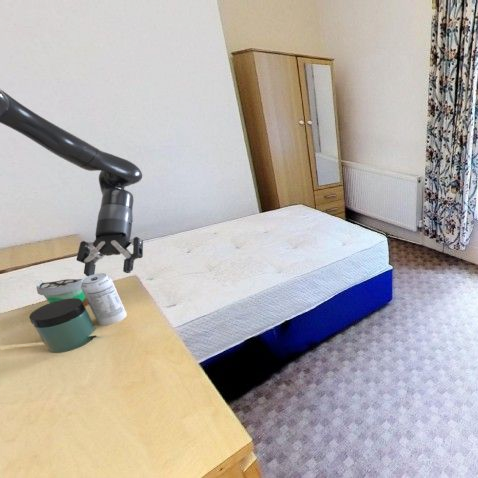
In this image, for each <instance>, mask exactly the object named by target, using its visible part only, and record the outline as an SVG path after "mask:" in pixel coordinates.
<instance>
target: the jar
mask: <svg viewBox="0 0 478 478" xmlns="http://www.w3.org/2000/svg"><path fill="white" fill-rule="evenodd" d="M33 327H34V330H36V332H37V334H38V336H39V337H40V339H41V341H42V342H43V344H44V345H45V347H46V349H47V350H48V351H49V352H50V353H54V354H59V353H60V354H61V353H65V352H70V351H73V350H75V349H77V348H81V347H83V346H84V345H87V344H88V343H90V342H91V341H93V339H95V338H96V335H92V334H93V333H94V332H95V330H96V326H95V324H94V322H93V320H92V317H91V316H90V314H89V311H88V310H87V307H85V310H84V311H83V312H82V313H81V314H80V315H78V316H76V317H75V318H73V319H71V320H68V321H66V322H63V323H60V324H57V325H53V326H47V327H37V326H34V325H33Z"/></svg>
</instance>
